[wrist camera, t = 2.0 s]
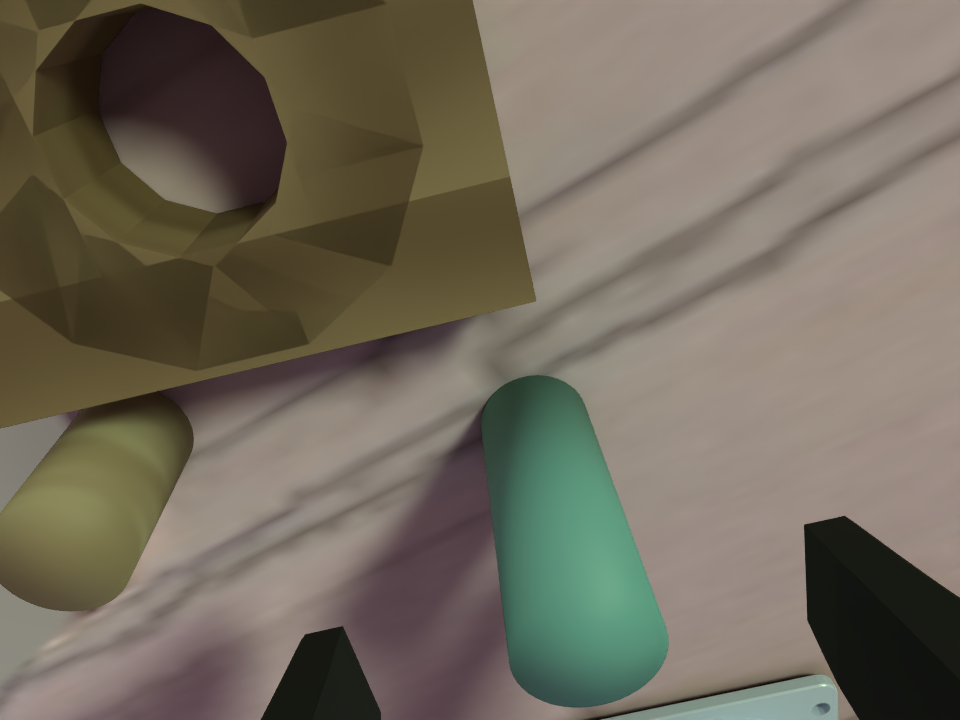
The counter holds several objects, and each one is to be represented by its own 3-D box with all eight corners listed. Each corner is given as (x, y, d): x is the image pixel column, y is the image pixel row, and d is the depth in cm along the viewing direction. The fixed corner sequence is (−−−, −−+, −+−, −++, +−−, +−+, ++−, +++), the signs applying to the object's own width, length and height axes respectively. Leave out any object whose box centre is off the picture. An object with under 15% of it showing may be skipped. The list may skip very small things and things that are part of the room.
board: (519, 253, 15) (536, 301, 13) (48, 366, 16) (-14, 432, 14) (415, -233, 12) (412, -280, 9) (-195, -66, 12) (-334, -73, 10)
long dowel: (594, 453, 18) (676, 688, 12) (493, 476, 18) (526, 720, 12) (577, 364, 17) (658, 576, 11) (469, 389, 17) (493, 612, 11)
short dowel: (210, 465, 17) (154, 595, 14) (109, 488, 17) (26, 622, 14) (166, 374, 16) (92, 489, 12) (58, 400, 16) (-45, 521, 13)
